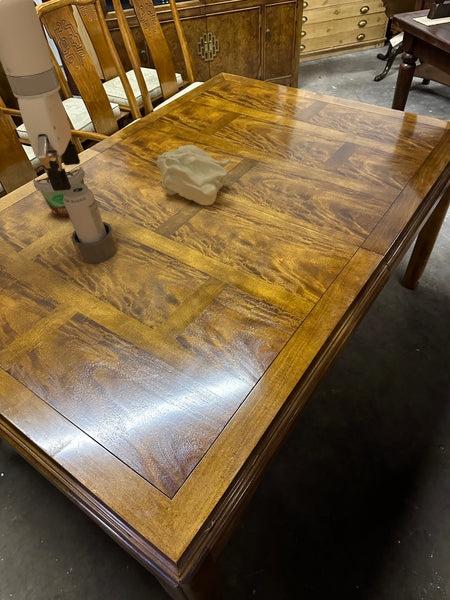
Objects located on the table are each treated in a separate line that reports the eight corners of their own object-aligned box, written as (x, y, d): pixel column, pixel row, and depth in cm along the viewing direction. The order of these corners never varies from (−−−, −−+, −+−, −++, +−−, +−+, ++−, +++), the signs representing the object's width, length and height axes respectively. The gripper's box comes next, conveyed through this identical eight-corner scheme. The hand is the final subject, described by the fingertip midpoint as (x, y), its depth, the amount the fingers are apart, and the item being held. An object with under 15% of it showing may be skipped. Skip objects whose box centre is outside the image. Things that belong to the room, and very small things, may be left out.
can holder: (75, 265, 91) (67, 247, 87) (82, 241, 97) (75, 223, 94) (115, 261, 91) (109, 243, 87) (119, 237, 97) (113, 219, 93)
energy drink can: (86, 241, 96) (63, 183, 85) (112, 239, 96) (92, 180, 85) (82, 258, 92) (57, 199, 81) (109, 255, 91) (88, 196, 81)
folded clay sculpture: (218, 213, 112) (244, 162, 103) (196, 229, 102) (222, 175, 93) (165, 176, 114) (185, 123, 104) (137, 189, 104) (157, 131, 94)
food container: (49, 225, 102) (33, 189, 95) (46, 213, 107) (30, 178, 99) (99, 211, 105) (86, 175, 98) (94, 199, 109) (81, 164, 102)
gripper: (25, 66, 74) (57, 157, 87) (-6, 103, 62) (37, 202, 75) (67, 63, 75) (93, 154, 87) (44, 99, 62) (79, 198, 75)
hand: (67, 176), depth 81 cm, fingers open, 9 cm apart
